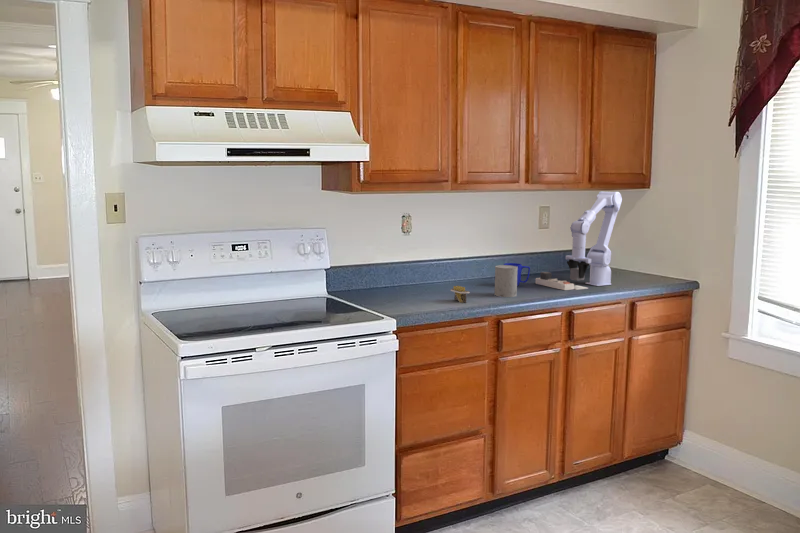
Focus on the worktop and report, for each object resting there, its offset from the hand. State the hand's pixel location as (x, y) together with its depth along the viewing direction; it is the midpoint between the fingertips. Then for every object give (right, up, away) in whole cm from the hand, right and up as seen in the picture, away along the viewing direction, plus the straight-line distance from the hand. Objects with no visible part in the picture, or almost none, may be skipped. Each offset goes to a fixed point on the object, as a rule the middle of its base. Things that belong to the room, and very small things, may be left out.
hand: (577, 277), depth 309 cm
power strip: (-10, -4, +5) cm, 11 cm away
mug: (-27, -4, +5) cm, 28 cm away
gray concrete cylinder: (-36, -8, -18) cm, 41 cm away
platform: (-57, -10, -33) cm, 67 cm away
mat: (0, -5, +1) cm, 5 cm away
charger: (0, -1, 0) cm, 1 cm away
